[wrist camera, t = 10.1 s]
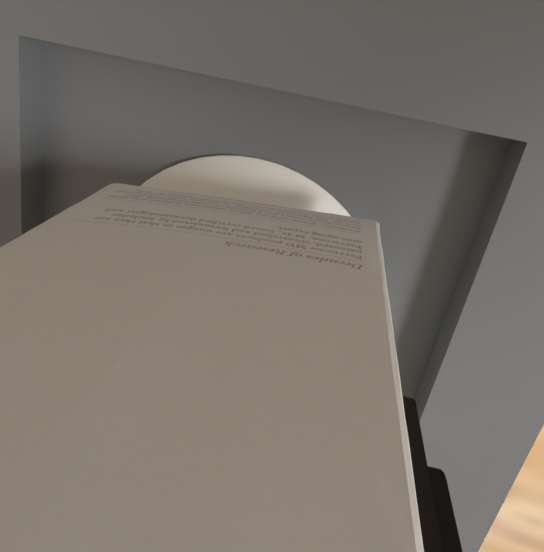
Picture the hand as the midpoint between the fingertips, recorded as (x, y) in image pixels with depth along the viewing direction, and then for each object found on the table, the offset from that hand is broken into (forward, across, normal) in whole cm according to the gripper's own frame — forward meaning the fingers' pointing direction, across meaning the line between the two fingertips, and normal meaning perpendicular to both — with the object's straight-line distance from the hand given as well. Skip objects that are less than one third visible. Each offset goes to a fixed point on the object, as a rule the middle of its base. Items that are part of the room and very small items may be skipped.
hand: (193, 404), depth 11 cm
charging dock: (+6, 0, 0) cm, 6 cm away
